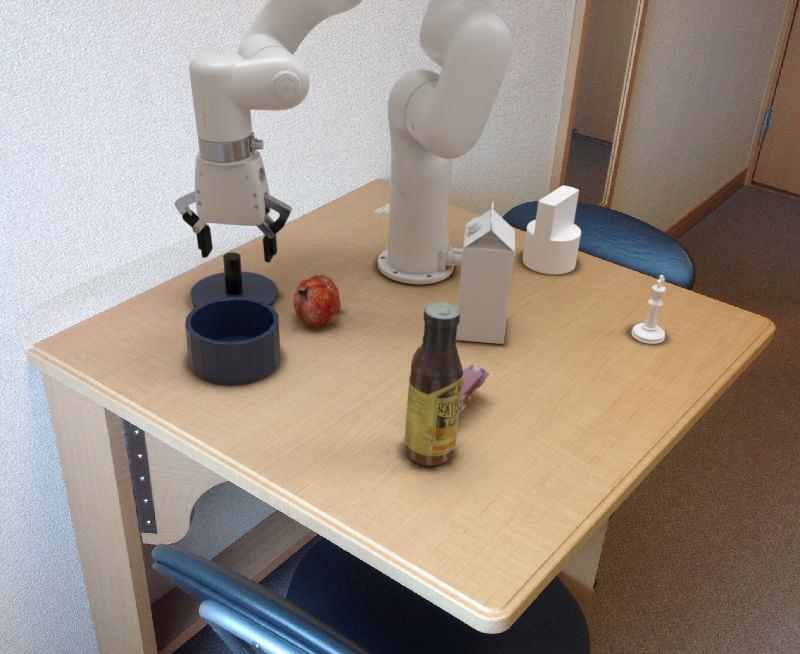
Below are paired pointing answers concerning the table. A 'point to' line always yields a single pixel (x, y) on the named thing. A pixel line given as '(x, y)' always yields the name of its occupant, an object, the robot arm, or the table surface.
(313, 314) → the pomegranate
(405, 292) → the table surface
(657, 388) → the table surface
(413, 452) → the sauce bottle
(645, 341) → the chess piece
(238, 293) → the lid
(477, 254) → the milk carton
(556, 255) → the cylinder with rectangular tab
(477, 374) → the video game controller
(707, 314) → the table surface
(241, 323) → the bowl
